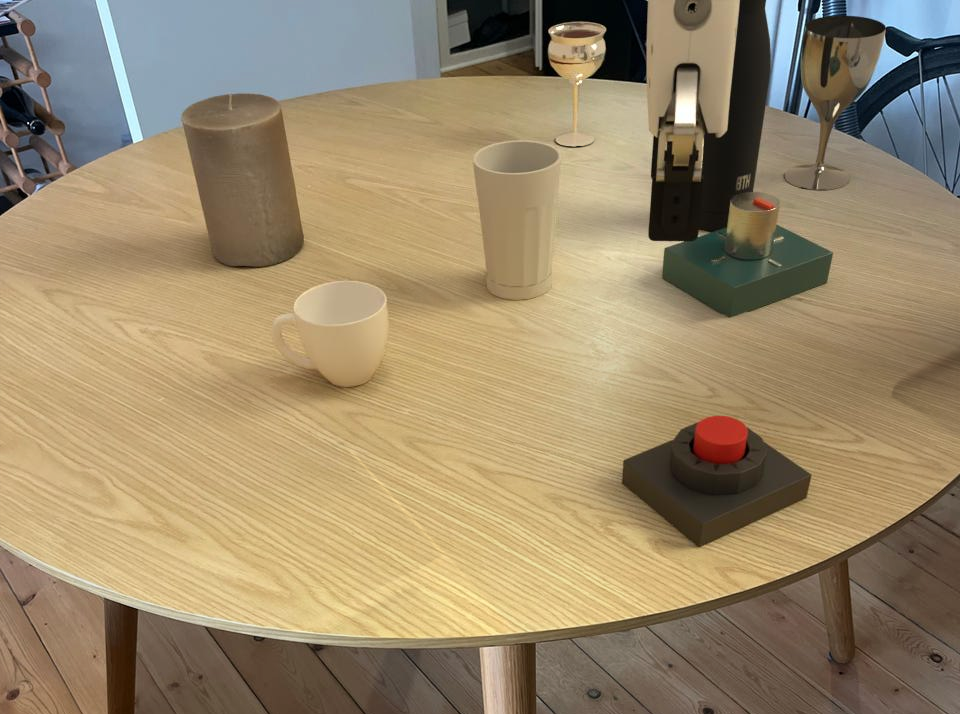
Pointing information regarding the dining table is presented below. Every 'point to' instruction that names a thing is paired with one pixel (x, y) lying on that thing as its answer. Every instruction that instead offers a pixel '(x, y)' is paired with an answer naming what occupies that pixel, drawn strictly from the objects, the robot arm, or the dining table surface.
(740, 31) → the wine bottle
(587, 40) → the wineglass
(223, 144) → the pillar candle
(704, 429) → the red button
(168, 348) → the dining table surface
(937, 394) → the dining table surface
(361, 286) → the cup
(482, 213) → the cup
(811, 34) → the metal goblet
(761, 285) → the dial panel
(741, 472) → the red button base
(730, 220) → the dial
